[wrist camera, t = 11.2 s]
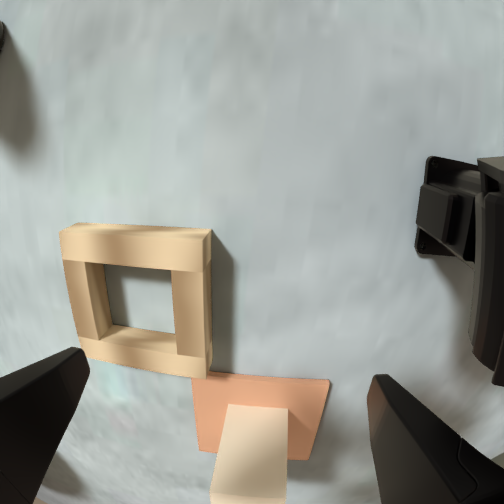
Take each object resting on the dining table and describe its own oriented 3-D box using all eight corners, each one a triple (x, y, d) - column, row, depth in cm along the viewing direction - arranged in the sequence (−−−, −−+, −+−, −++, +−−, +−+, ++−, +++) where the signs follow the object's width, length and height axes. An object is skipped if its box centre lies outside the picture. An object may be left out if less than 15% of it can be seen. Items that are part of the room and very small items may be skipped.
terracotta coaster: (328, 379, 24) (329, 384, 24) (308, 455, 28) (308, 459, 27) (192, 368, 25) (190, 373, 24) (200, 446, 28) (199, 450, 28)
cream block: (288, 408, 25) (286, 498, 16) (282, 442, 26) (278, 523, 18) (228, 403, 25) (209, 491, 17) (228, 438, 27) (213, 517, 18)
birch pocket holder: (211, 229, 21) (202, 240, 19) (212, 359, 24) (206, 379, 22) (77, 222, 22) (58, 231, 19) (96, 340, 25) (83, 356, 23)
